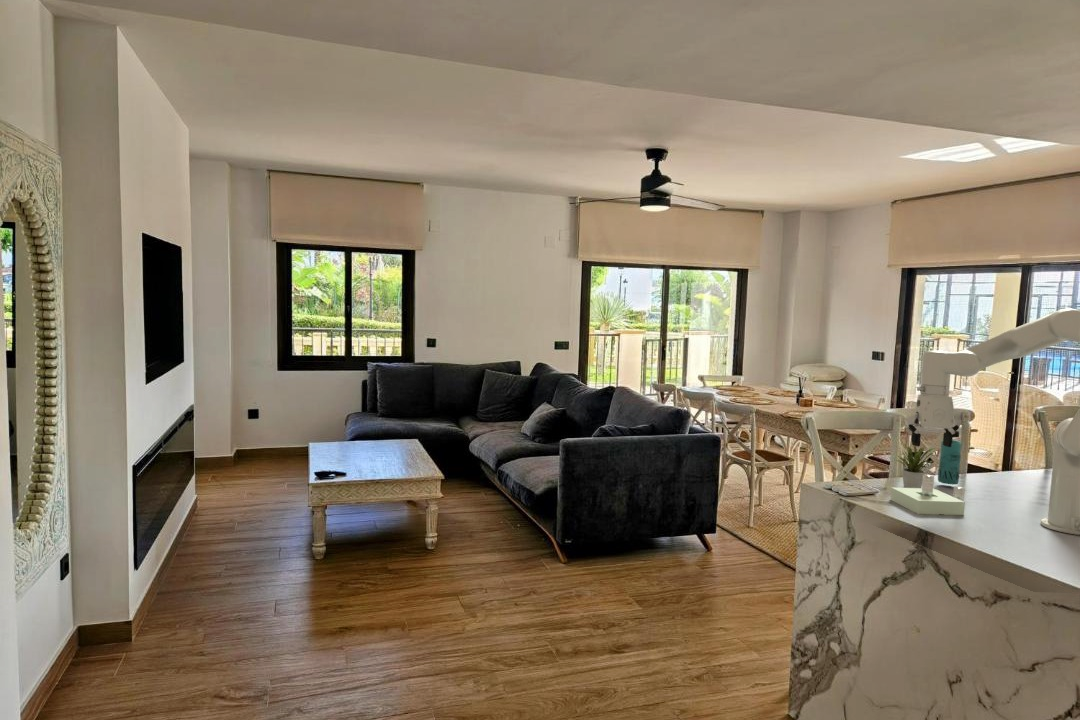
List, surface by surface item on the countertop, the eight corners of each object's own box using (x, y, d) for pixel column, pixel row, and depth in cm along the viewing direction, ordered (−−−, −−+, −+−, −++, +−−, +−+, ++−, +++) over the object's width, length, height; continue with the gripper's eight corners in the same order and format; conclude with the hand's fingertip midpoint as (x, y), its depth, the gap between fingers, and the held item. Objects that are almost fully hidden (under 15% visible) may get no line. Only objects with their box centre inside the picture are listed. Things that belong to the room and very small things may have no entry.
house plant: (950, 493, 223) (954, 445, 222) (921, 496, 218) (924, 447, 217) (912, 482, 237) (916, 437, 235) (884, 485, 231) (887, 439, 230)
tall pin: (933, 508, 204) (936, 476, 203) (924, 508, 204) (926, 476, 203) (928, 505, 207) (930, 474, 206) (918, 505, 207) (920, 474, 206)
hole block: (963, 515, 198) (964, 502, 198) (917, 513, 198) (918, 500, 197) (933, 500, 213) (934, 488, 213) (890, 499, 213) (891, 487, 212)
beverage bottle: (932, 484, 235) (936, 428, 233) (946, 483, 237) (951, 428, 235) (948, 489, 228) (953, 432, 227) (963, 488, 230) (968, 431, 229)
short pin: (965, 504, 210) (967, 489, 210) (956, 504, 210) (957, 488, 210) (959, 501, 213) (960, 486, 213) (950, 501, 213) (951, 486, 213)
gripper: (913, 391, 199) (910, 447, 200) (970, 392, 199) (967, 449, 200) (900, 389, 206) (896, 443, 207) (955, 390, 207) (951, 444, 208)
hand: (931, 446), depth 204 cm, fingers open, 9 cm apart
